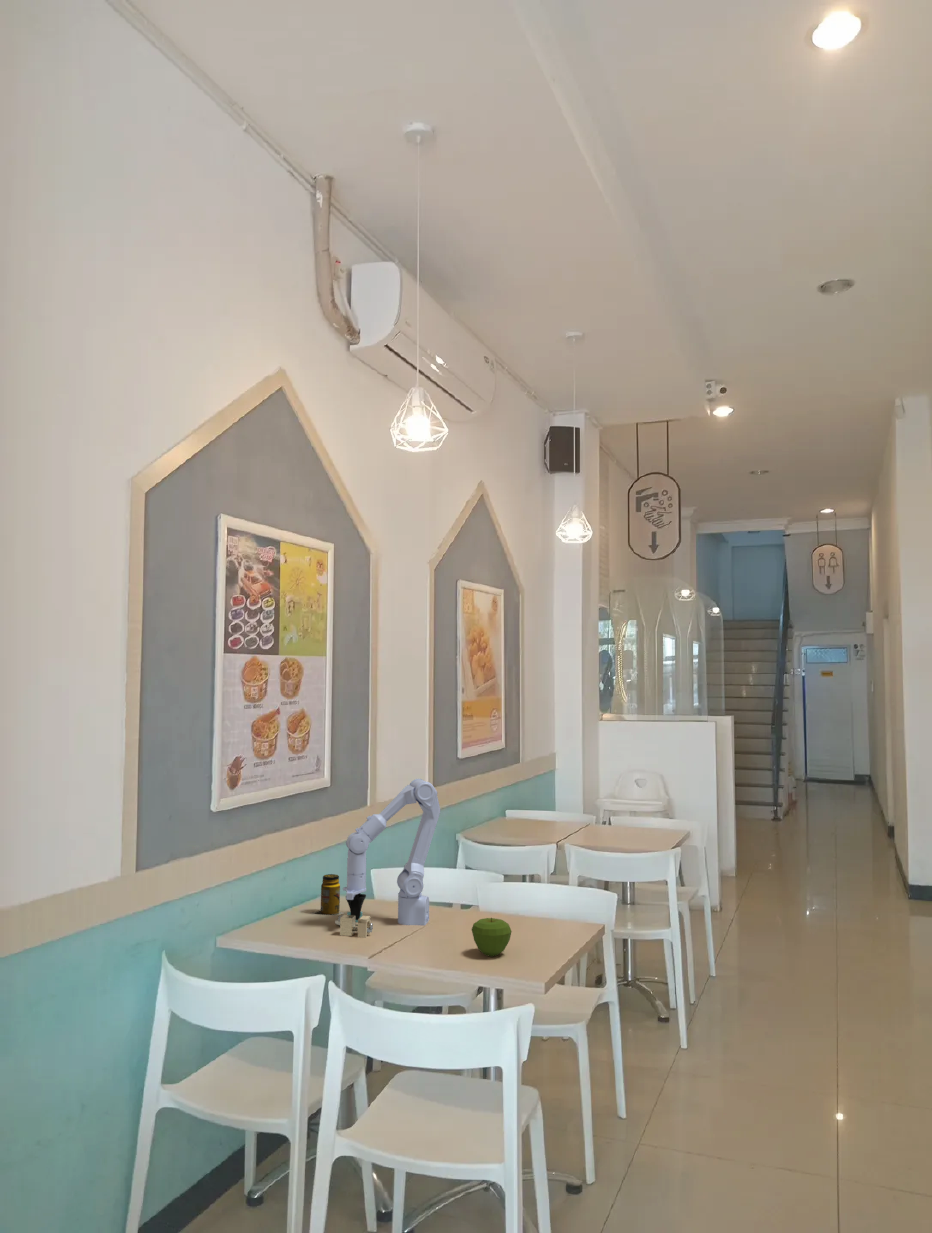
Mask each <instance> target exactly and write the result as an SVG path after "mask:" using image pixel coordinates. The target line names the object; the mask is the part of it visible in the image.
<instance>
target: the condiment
mask: <svg viewBox="0 0 932 1233" xmlns="http://www.w3.org/2000/svg"><path fill="white" fill-rule="evenodd" d="M320 887H321V888H320V910H318V911H313V912H312V911H311V915H320V916H321V915H322V916H340V915H345V912H342V911H340V905H341V904H340V902H341V901H340V900H341V898H340V897H341V895H340V894H341V884H340V876H339V875H338V874H332V873H331V874H324V875H323V876H322V884H321V886H320Z"/></svg>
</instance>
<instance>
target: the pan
mask: <svg viewBox="0 0 932 1233" xmlns="http://www.w3.org/2000/svg"><path fill="white" fill-rule="evenodd" d="M346 913H347V914H346V915H351V912H350V911H347V912H346ZM343 915H344V914H340V915H337V916H338V917H337V918H338V919H335V920H334V924H335V925H338V926H339V925H340V918H341V917H342V916H343ZM363 915H364V914H363V911H361V913H360V918H361V917H362V916H363ZM355 923H358V920H355Z"/></svg>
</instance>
